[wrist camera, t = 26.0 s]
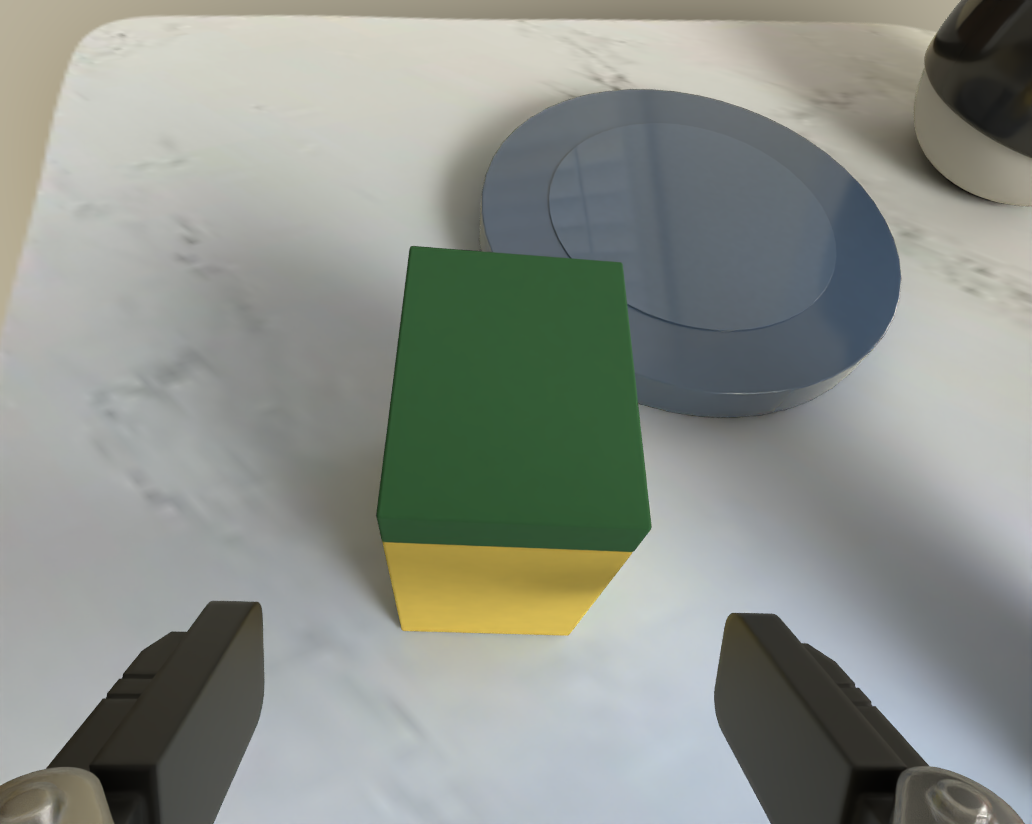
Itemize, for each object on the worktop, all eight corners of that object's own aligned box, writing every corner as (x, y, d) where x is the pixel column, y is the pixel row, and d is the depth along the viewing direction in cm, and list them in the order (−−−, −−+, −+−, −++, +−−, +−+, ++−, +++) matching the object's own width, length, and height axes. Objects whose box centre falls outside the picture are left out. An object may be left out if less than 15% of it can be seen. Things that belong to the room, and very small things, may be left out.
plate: (573, 472, 20) (582, 449, 19) (429, 145, 27) (428, 111, 26) (963, 358, 24) (994, 332, 23) (747, 100, 31) (761, 69, 30)
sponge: (401, 631, 17) (375, 518, 10) (419, 433, 20) (409, 244, 13) (569, 635, 17) (652, 529, 11) (562, 440, 21) (623, 261, 14)
